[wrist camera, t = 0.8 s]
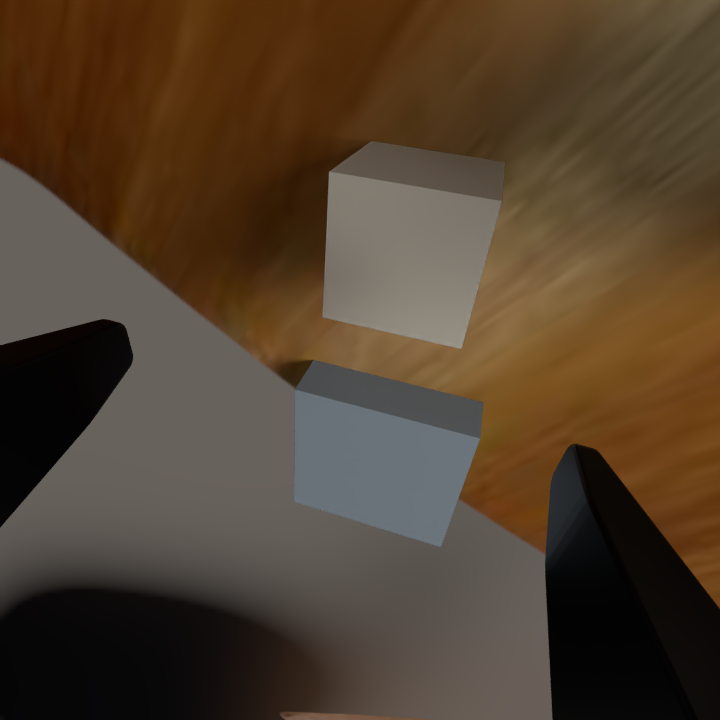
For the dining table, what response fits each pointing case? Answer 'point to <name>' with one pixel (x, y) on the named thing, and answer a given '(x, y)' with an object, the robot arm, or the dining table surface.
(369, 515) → the slate block
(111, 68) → the dining table surface
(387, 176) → the cream cube
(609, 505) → the robot arm
